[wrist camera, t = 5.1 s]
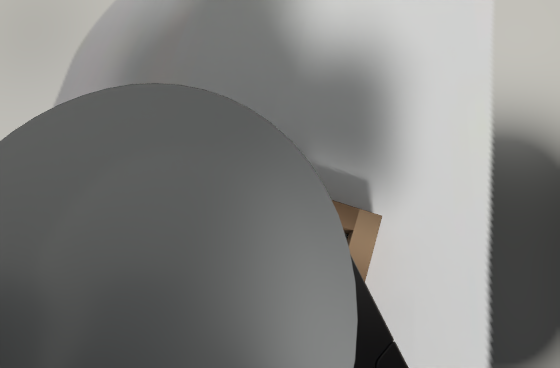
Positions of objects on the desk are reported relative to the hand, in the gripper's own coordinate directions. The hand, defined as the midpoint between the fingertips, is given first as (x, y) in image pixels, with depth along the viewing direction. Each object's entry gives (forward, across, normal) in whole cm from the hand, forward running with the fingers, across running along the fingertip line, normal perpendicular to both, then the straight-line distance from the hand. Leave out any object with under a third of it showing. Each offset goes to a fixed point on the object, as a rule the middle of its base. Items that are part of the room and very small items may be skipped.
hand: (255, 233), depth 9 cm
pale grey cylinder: (+4, 0, +6) cm, 7 cm away
